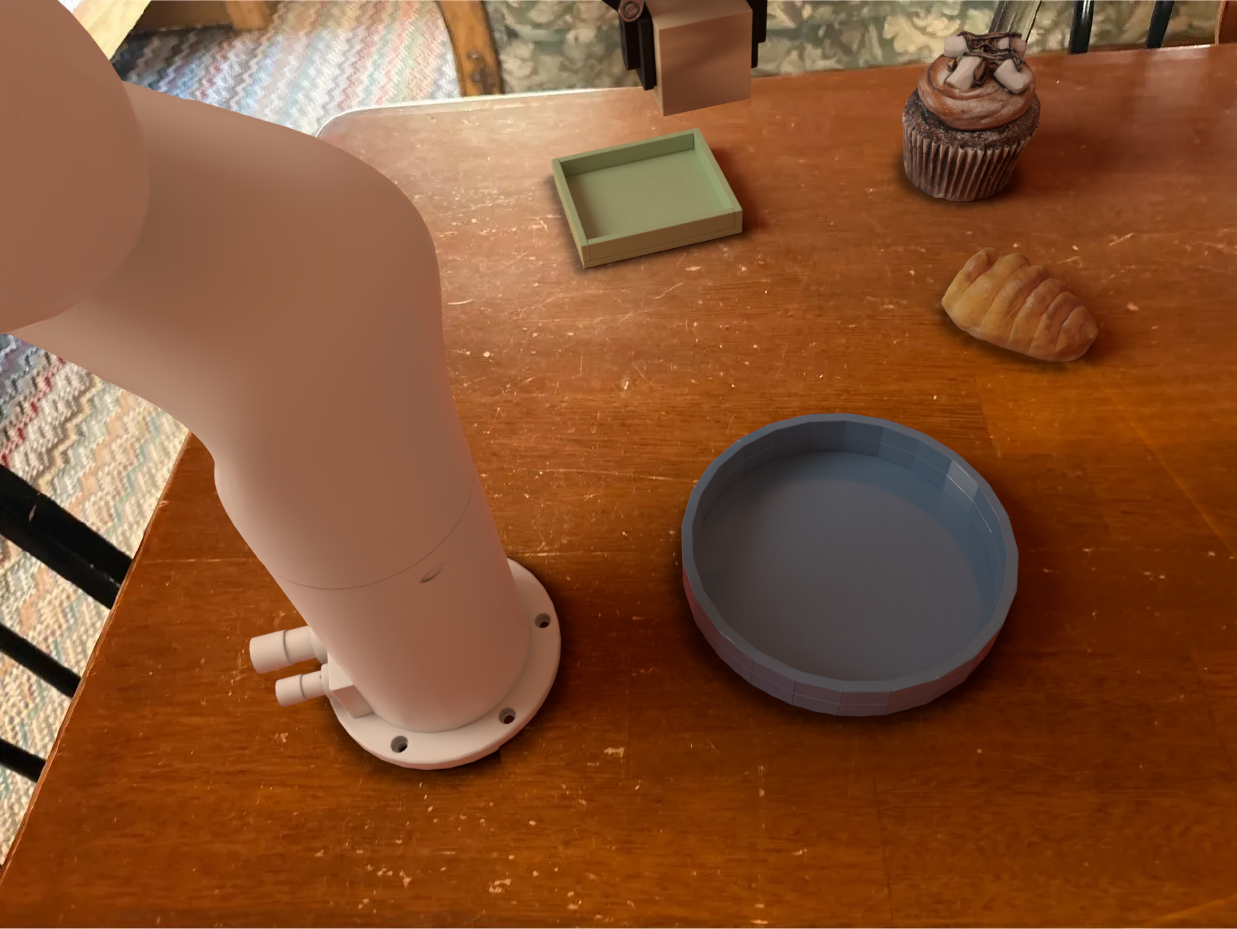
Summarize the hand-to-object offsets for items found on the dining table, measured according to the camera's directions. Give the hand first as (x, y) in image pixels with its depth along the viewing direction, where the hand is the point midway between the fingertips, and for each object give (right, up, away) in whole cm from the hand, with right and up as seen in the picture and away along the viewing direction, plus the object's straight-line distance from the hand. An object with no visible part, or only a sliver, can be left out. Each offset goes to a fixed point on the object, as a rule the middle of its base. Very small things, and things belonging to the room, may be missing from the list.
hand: (694, 63), depth 52 cm
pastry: (+22, -13, +11) cm, 27 cm away
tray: (-2, -2, +21) cm, 21 cm away
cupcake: (+22, 0, +21) cm, 30 cm away
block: (0, -1, +1) cm, 1 cm away
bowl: (+8, -28, 0) cm, 29 cm away
